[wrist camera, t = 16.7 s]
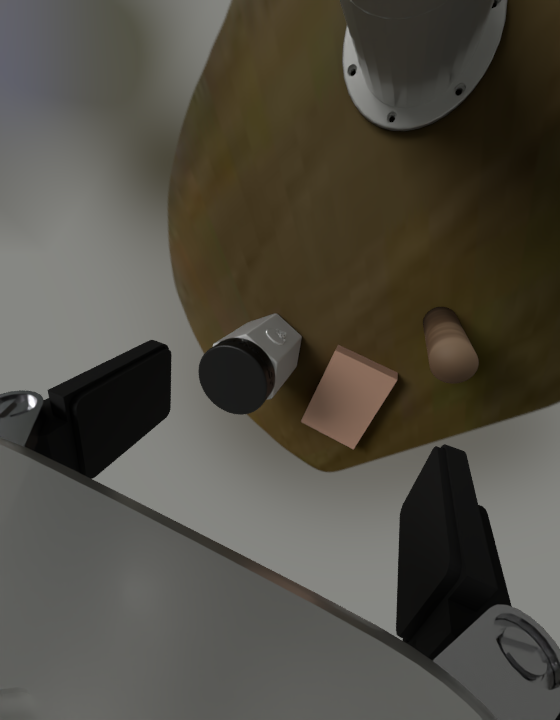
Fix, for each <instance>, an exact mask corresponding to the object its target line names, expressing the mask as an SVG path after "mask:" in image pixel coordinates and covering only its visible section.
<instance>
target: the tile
mask: <svg viewBox="0 0 560 720" xmlns="http://www.w3.org/2000/svg"><path fill="white" fill-rule="evenodd" d="M397 380H398V373H397V372H395V371H393V370H391V369H388V368H386V367H384V366H382V365H380V364H378V363H376V362H374V361H372V360H370V359H367V358H365V357H363V356H361V355H359V354H357V353H355V352H353V351H351V350H348V349H346V348H344V347H342V346H340V345H338V347H337V348H336V350H335V352H334V354H333V356H332V358H331V360H330V362H329V365H328V367H327V369H326V371H325V373H324V375H323V377H322V379H321V381H320V383H319V385H318V387H317V389H316V391H315V393H314V395H313V397H312V399H311V402H310V404H309V406H308V408H307V410H306V412H305V414H304V416H303V418H302V420H301V422H302V423H304V424H306V425H308V426H310V427H312V428H314V429H316V430H317V431H319V432H321V433H323V434H325V435H327V436H329V437H331V438H333V439H335V440H336V441H338V442H340V443H342V444H344V445H346V446H348V447H350V448H352V449H354V448H355V446H356V445H357V443H358V441H359V440H360V438H361V437H362V435H363V434H364V432H365V430H366V429H367V427H368V426H369V424H370V423H371V421H372V419H373V418H374V416H375V415H376V413H377V411H378V410H379V408H380V407H381V405H382V404H383V402H384V400H385V399H386V397H387V396H388V394H389V393H390V391H391V389H392V388H393V386H394V385H395V383H396V381H397Z"/></svg>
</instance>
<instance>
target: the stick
mask: <svg viewBox="0 0 560 720" xmlns="http://www.w3.org/2000/svg"><path fill="white" fill-rule="evenodd" d="M423 327H424V333H425V339H426V346H427V352H428V358H429V365H430V369H431V372H432V373H433V375H434V376H435V377H436V378H437V379H439V380H441V381H443V382H446V383H460V382H463V381H466V380H468V379H469V378H471V377H472V376H473V375H474V374H475V372H476V371H477V368H478V364H479V361H478V357H477V355H476V353H475V351H474V349H473V347H472V345H471V343H470V341H469V339H468V337H467V335H466V333H465V331H464V329H463V328H462V326H461V324H460V322H459V320H458V318H457V316H456V314H455V313H454V312H453V311H452V310H451V309H449V308H446V307H436V308H434V309H432V310H430V311H429V312H428V313H427V314H426V315H425V317H424V320H423Z"/></svg>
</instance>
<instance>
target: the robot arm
mask: <svg viewBox="0 0 560 720" xmlns="http://www.w3.org/2000/svg"><path fill="white" fill-rule="evenodd" d="M340 3H341V6H342V10H343V13H344V16H345V19H346V23H347V27H346V32H345V38H344V43H343V62H342V63H343V71H344V79H345V82H346V86H347V89H348V92H349V95H350V97H351V99H352V101H353V103H354V104H355V106H356V107H357V109H358V110H359V112H360V113H361V114H362V115H363V116H364V117H365V118H366V119H367V120H368V121H370V122H371V123H373V124H375V125H377V126H378V127H380V128H384V129H388V130H391V131H409V130H415V129H419V128H422V127H425V126H427V125H430V124H433V123H434V122H436V121H438V120H439V119H441V118H443V117H445V116H446V115H448V114H449V113H450V112H451V111H453V110H454V109H455V108H456V107H457V106H459V105H460V104H461V103H462V102H463V101H464V100H465V99H466V97H467V96H468V95H469V94H470V93H471V92H472V91H473V90H474V88H475V87H476V85H477V84H478V83H479V81H480V80H481V78H482V77H483V75H484V74H485V72H486V70H487V68H488V66H489V64H490V63H491V61H492V59H493V56H494V54H495V52H496V49H497V47H498V44H499V42H500V39H501V35H502V31H503V27H504V23H505V19H506V8H507V0H340ZM493 3H495V4H496V7H495V8H492V6H493ZM353 71H356V74H355V75H354V76H351V73H352V72H353ZM457 90H461V91H462V93H461V95H459V96H457V95H456V94H455V92H456V91H457ZM391 117H395V120H394V122H389V119H390V118H391ZM48 394H49V398H48V399H46V400H43V398H42V396H41V395H40V394H38V393H36V392H32V391H12V392H8V393H3V394H0V720H560V649H559V647H558V646H557V644H556V643H555V641H554V640H553V639H552V638H551V637H550V635H549V634H548V633H547V632H546V631H545V630H544V628H543V627H541V626H540V625H539V624H538V623H537V622H536V621H535V620H533V619H532V618H531V617H530V616H528V615H526V614H525V613H523V612H522V611H520V610H518V609H516V608H513V607H512V606H511V603H510V599H509V595H508V591H507V587H506V583H505V580H504V576H503V572H502V568H501V564H500V560H499V557H498V552H497V549H496V545H495V541H494V537H493V533H492V529H491V525H490V521H489V517H488V514H487V512H486V509H485V508H483V507H482V506H480V505H478V503H477V498H476V494H475V490H474V485H473V481H472V477H471V472H470V469H469V464H468V460H467V455H466V453H465V452H464V451H462V450H459V449H456V448H453V447H451V446H448V445H443V446H442V447H441V448H439V447H437V446H436V447H434V448H433V450H432V452H431V454H430V455H429V458H428V459H427V461H426V463H425V465H424V467H423V468H422V470H421V472H420V474H419V476H418V478H417V479H416V481H415V483H414V485H413V487H412V489H411V491H410V493H409V494H408V496H407V498H406V500H405V502H404V503H403V506H402V509H401V513H400V529H399V559H398V589H397V618H396V619H397V620H396V631H397V635H398V636H399V637H401V638H403V641H402V640H400V639H398V638H397V637H395V636H393V635H391V634H390V633H388V632H387V631H385V630H383V629H381V628H380V627H378V626H376V625H374V624H373V623H371V622H369V621H367V620H365V619H363V618H361V617H360V616H358V615H356V614H354V613H352V612H350V611H348V610H346V609H345V608H343V607H341V606H339V605H337V604H335V603H333V602H332V601H329V600H328V599H326V598H324V597H322V596H320V595H318V594H317V593H315V592H313V591H311V590H309V589H307V588H305V587H303V586H301V585H299V584H297V583H295V582H293V581H291V580H289V579H287V578H286V577H283V576H281V575H280V574H278V573H276V572H274V571H272V570H270V569H268V568H266V567H264V566H262V565H260V564H258V563H256V562H254V561H252V560H251V559H248V558H246V557H245V556H243V555H241V554H239V553H237V552H235V551H233V550H231V549H229V548H227V547H225V546H223V545H221V544H219V543H217V542H215V541H213V540H211V539H209V538H207V537H205V536H203V535H201V534H199V533H198V532H196V531H194V530H192V529H190V528H188V527H186V526H183V525H182V524H180V523H178V522H176V521H174V520H172V519H170V518H168V517H166V516H164V515H162V514H160V513H158V512H156V511H154V510H152V509H150V508H148V507H146V506H144V505H142V504H140V503H138V502H136V501H134V500H132V499H130V498H128V497H126V496H124V495H122V494H120V493H118V492H116V491H114V490H112V489H110V488H108V487H106V486H104V485H102V484H100V483H98V482H96V481H94V480H92V478H94V477H96V476H97V475H98V474H99V473H100V472H102V471H103V470H104V469H105V468H106V467H108V466H109V465H110V464H111V463H112V462H114V461H115V460H116V459H117V458H118V457H120V456H121V455H122V454H123V453H124V452H126V451H127V450H128V449H129V448H130V447H132V446H133V445H134V444H135V443H136V442H137V441H139V440H140V439H141V438H142V437H143V436H145V435H146V434H147V433H148V432H149V431H151V430H152V429H153V428H154V427H155V426H156V425H158V424H159V423H160V422H161V421H162V420H164V419H165V418H166V417H167V416H168V414H169V412H170V401H171V399H170V398H171V396H170V395H171V351H170V350H169V348H168V346H167V345H165V344H162V343H160V342H157V341H154V340H150V341H148V342H146V343H143V344H141V345H139V346H137V347H135V348H133V349H131V350H129V351H127V352H125V353H123V354H121V355H119V356H117V357H115V358H113V359H111V360H108V361H106V362H105V363H102V364H100V365H98V366H96V367H94V368H92V369H90V370H88V371H86V372H84V373H82V374H80V375H78V376H76V377H74V378H72V379H70V380H68V381H66V382H63V383H61V384H60V385H57V386H55V387H53V388H51V389H49V390H48Z"/></svg>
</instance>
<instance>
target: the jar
mask: <svg viewBox="0 0 560 720" xmlns="http://www.w3.org/2000/svg"><path fill="white" fill-rule="evenodd" d="M301 340H302V336H301V335H300V334H299V333H298V332H297V331H296V330H294V329H293V328H292V327H291V326H290V325H289V324H288V323H287V322H286V321H285V320H283V319H282V318H281V317H280V316H279V315H278V314H272V315H269V316H266V317H263V318H260V319H257V320H254V321H251V322H248V323H246V324H245V325H243V326H242V327H240V328H238V329H237V330H235V331H234V332H232V333H230V334H229V335H227V336H225V337H224V338H222V339H221V340H219V341H217V342H216V343H214V344H213V347H212V348H210V349H209V350H208V351H207V352H206V353H205V354H204V355H203V357H202V359H201V361H200V364H199V379H200V383H201V386H202V388H203V390H204V392H205V394H206V395H207V396H208V398H209V399H210V400H211V401H212V402H213V403H214V404H215V405H216V406H218V407H219V408H221V409H223V410H225V411H227V412H229V413H233V414H248V413H251V412H254V411H255V410H257V409H258V408H259V407H260V406H261V405H262V404H263V403H264V402H265V400H266V399H271V398H273V397H274V395H275V394H276V393H277V391H278V390H279V389H280V387H281V386H282V385H283V384H284V382H285V381H286V380H287V378H288V377H289V376H290V375H291V373H292V372H293V371H294V369H295V368H296V367H297V362H298V357H299V351H300V345H301Z"/></svg>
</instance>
